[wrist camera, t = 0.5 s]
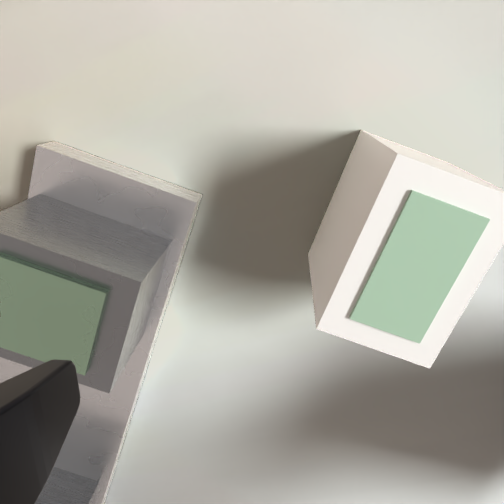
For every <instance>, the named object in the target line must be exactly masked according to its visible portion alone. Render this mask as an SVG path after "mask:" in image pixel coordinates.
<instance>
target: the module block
mask: <svg viewBox="0 0 504 504" xmlns="http://www.w3.org/2000/svg"><path fill="white" fill-rule="evenodd" d="M503 244H504V190H503V189H501V188H499V187H497V186H495V185H493V184H491V183H489V182H487V181H485V180H483V179H481V178H479V177H477V176H475V175H473V174H471V173H469V172H467V171H465V170H463V169H461V168H459V167H457V166H455V165H453V164H451V163H449V162H446V161H444V160H441V159H438V158H436V157H433V156H430V155H428V154H425V153H422V152H420V151H417V150H414V149H412V148H409V147H406V146H404V145H401V144H398V143H396V142H393V141H390V140H388V139H385V138H382V137H380V136H377V135H374V134H372V133H369V132H366V131H363V130H361V131H360V133H359V135H358V138H357V140H356V142H355V145H354V147H353V149H352V152H351V154H350V156H349V159H348V161H347V163H346V166H345V168H344V170H343V173H342V175H341V178H340V180H339V182H338V185H337V187H336V189H335V192H334V194H333V196H332V199H331V201H330V203H329V206H328V208H327V210H326V213H325V215H324V217H323V220H322V222H321V225H320V227H319V229H318V232H317V234H316V236H315V239H314V241H313V243H312V246H311V248H310V250H309V253H308V259H309V268H310V277H311V286H312V295H313V303H314V312H315V321H316V329H318V330H320V331H323V332H326V333H329V334H332V335H335V336H338V337H340V338H343V339H346V340H349V341H352V342H355V343H358V344H361V345H363V346H366V347H369V348H372V349H375V350H378V351H381V352H383V353H386V354H389V355H392V356H395V357H398V358H401V359H403V360H406V361H409V362H412V363H415V364H418V365H421V366H423V367H426V368H429V369H430V368H431V366H432V364H433V363H434V361H435V359H436V358H437V356H438V354H439V352H440V351H441V349H442V347H443V346H444V344H445V342H446V341H447V339H448V337H449V336H450V334H451V332H452V330H453V329H454V327H455V325H456V324H457V322H458V320H459V319H460V317H461V315H462V314H463V312H464V310H465V308H466V307H467V305H468V303H469V302H470V300H471V298H472V297H473V295H474V293H475V292H476V290H477V288H478V286H479V285H480V283H481V281H482V280H483V278H484V276H485V275H486V273H487V271H488V270H489V268H490V266H491V265H492V263H493V261H494V259H495V258H496V256H497V254H498V253H499V251H500V249H501V248H502V246H503Z"/></svg>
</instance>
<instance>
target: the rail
mask: <svg viewBox="0 0 504 504" xmlns="http://www.w3.org/2000/svg"><path fill="white" fill-rule="evenodd" d="M202 195H203V194H200V193H197V192H194V191H192V190H189V189H186V188H183V187H180V186H178V185H175V184H172V183H169V182H167V181H164V180H161V179H158V178H156V177H153V176H150V175H147V174H144V173H142V172H139V171H136V170H133V169H131V168H128V167H125V166H122V165H119V164H117V163H114V162H111V161H108V160H106V159H103V158H100V157H97V156H95V155H92V154H89V153H86V152H83V151H81V150H78V149H75V148H72V147H70V146H67V145H64V144H61V143H58V142H56V141H52V142H48V143H44V144H40V145H37V147H36V153H35V158H34V164H33V170H32V176H31V181H30V187H29V193H28V199H27V200H25V201H23V202H20V203H18V204H16V205H14V206H11V207H9V208H7V209H5V210H2V211H0V383H2V382H4V381H6V380H8V379H10V378H13V377H15V376H17V375H19V374H21V373H23V372H26V371H28V370H30V369H32V368H34V367H37V366H39V365H41V364H43V363H45V362H47V361H50V360H54V359H55V360H71V361H72V362H73V363H74V364H75V367H76V372H77V378H78V384H79V390H80V405H79V408H78V411H77V413H76V416H75V418H74V420H73V423H72V425H71V427H70V430H69V432H68V434H67V437H66V439H65V441H64V444H63V446H62V448H61V451H60V453H59V456H58V458H57V460H56V463H55V465H54V467H53V469H52V472H51V474H50V476H49V478H48V480H47V482H46V484H45V486H44V488H43V490H42V491H41V493H40V495H39V497H38V499H37V501H36V502H35V504H105V500H106V497H107V494H108V491H109V488H110V485H111V481H112V478H113V475H114V472H115V469H116V466H117V463H118V459H119V456H120V453H121V450H122V447H123V444H124V441H125V437H126V434H127V431H128V428H129V425H130V422H131V419H132V415H133V412H134V409H135V406H136V403H137V400H138V396H139V393H140V390H141V387H142V384H143V381H144V378H145V374H146V371H147V368H148V365H149V362H150V359H151V356H152V352H153V349H154V346H155V343H156V340H157V337H158V334H159V330H160V327H161V324H162V321H163V318H164V315H165V311H166V308H167V305H168V302H169V299H170V296H171V293H172V289H173V286H174V283H175V280H176V277H177V274H178V271H179V267H180V264H181V261H182V258H183V255H184V252H185V249H186V245H187V242H188V239H189V236H190V233H191V230H192V226H193V223H194V220H195V217H196V214H197V211H198V208H199V204H200V201H201V198H202Z"/></svg>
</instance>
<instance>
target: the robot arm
mask: <svg viewBox="0 0 504 504" xmlns="http://www.w3.org/2000/svg"><path fill="white" fill-rule="evenodd" d="M79 405H80V390H79V384H78V378H77V372H76V367H75V364H74V363H73V362H72V361H71V360H55V359H54V360H50V361H47V362H45V363H43V364H41V365H39V366H37V367H34V368H32V369H30V370H28V371H26V372H23V373H21V374H19V375H17V376H15V377H13V378H10V379H8V380H6V381H4V382H2V383H0V504H35V502H36V501H37V499H38V497H39V495H40V493H41V491H42V490H43V488H44V486H45V484H46V482H47V480H48V478H49V476H50V474H51V472H52V469H53V467H54V465H55V463H56V460H57V458H58V456H59V453H60V451H61V448H62V446H63V444H64V441H65V439H66V437H67V434H68V432H69V430H70V427H71V425H72V423H73V420H74V418H75V416H76V413H77V411H78V408H79Z"/></svg>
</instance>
